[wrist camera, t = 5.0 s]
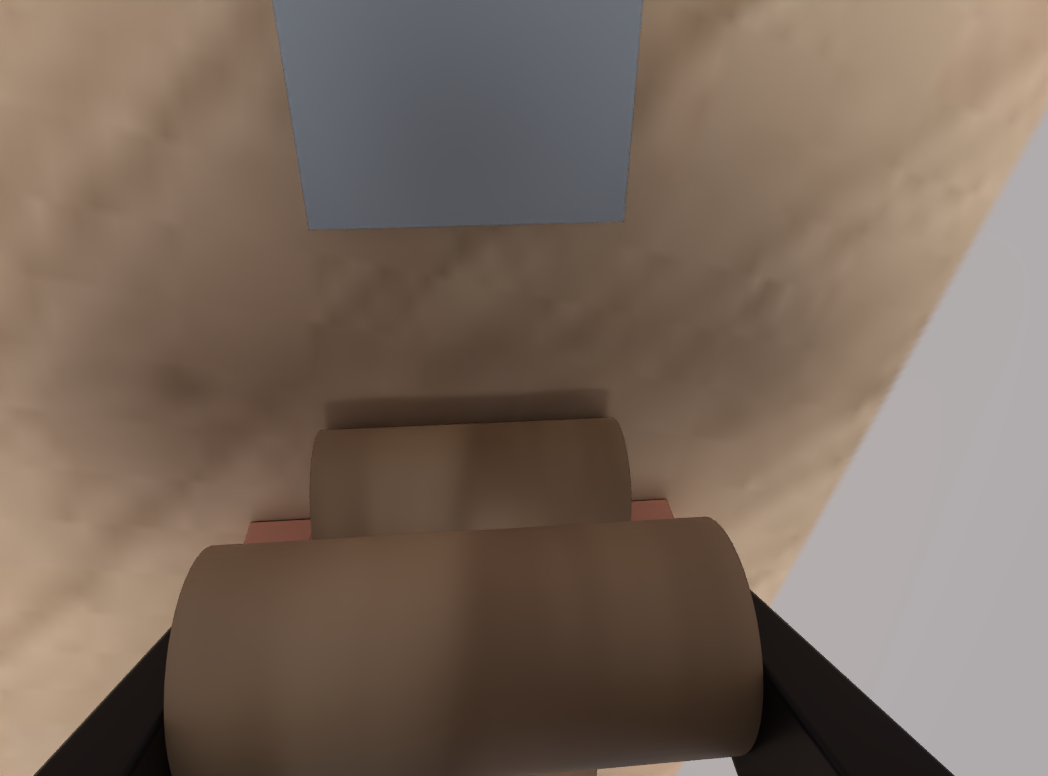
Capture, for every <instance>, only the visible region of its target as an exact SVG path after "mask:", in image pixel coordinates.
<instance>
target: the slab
mask: <svg viewBox="0 0 1048 776" xmlns="http://www.w3.org/2000/svg"><path fill="white" fill-rule="evenodd" d="M272 1H273V7H274V14H275V20H276V26H277V33H278V39H279V45H280V52H281V58H282V64H283V71H284V77H285V83H286V90H287V96H288V102H289V109H290V115H291V121H292V127H293V134H294V140H295V146H296V153H297V159H298V165H299V172H300V178H301V184H302V191H303V197H304V203H305V210H306V216H307V222H308V229H309V230H331V229H368V228H406V227H443V226H481V225H519V224H556V223H594V222H624V212H625V201H626V189H627V178H628V166H629V155H630V143H631V132H632V120H633V109H634V97H635V86H636V74H637V63H638V51H639V40H640V28H641V17H642V5H643V0H272Z"/></svg>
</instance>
